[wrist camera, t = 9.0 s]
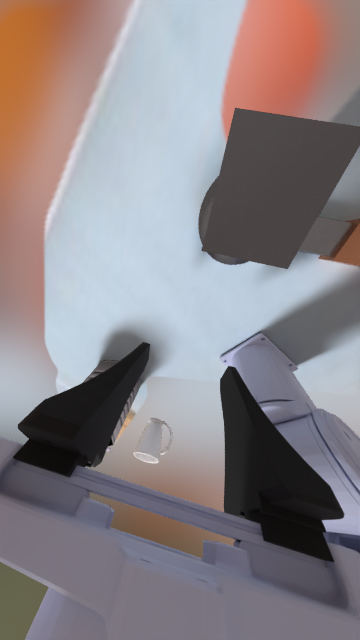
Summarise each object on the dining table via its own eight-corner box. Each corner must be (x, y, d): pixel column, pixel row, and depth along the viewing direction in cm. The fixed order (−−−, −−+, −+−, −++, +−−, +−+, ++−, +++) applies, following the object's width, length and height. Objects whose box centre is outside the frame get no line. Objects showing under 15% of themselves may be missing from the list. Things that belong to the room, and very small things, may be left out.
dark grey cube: (289, 184, 10) (369, 128, 5) (256, 259, 13) (287, 268, 8) (221, 172, 11) (235, 107, 6) (203, 247, 14) (201, 250, 8)
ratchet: (464, 208, 11) (608, 187, 7) (376, 294, 15) (437, 312, 11) (211, 164, 12) (213, 126, 8) (192, 255, 16) (188, 258, 12)
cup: (141, 416, 40) (127, 451, 33) (169, 414, 37) (161, 454, 30) (152, 427, 43) (142, 462, 36) (179, 427, 39) (174, 466, 33)
